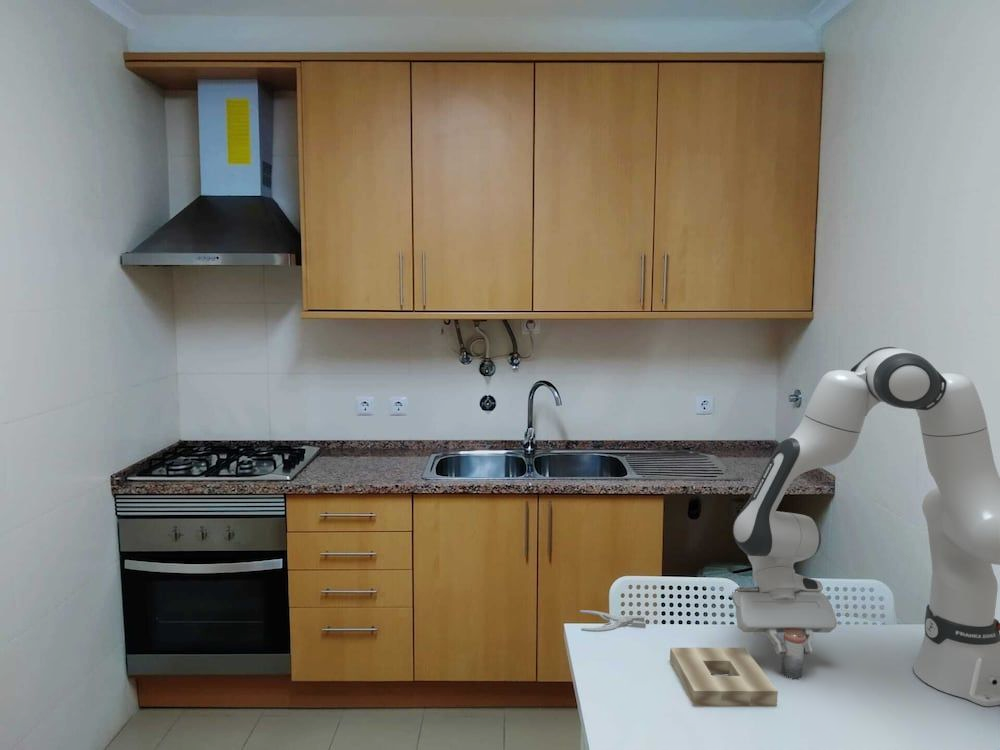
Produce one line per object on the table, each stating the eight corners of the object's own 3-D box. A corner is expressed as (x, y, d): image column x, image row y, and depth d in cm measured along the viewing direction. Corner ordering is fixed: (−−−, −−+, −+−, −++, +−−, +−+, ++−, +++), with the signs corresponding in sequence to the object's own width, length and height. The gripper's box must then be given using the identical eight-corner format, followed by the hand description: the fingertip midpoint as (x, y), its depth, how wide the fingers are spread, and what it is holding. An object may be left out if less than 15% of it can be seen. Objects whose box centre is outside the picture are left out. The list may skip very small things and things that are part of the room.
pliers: (580, 606, 168) (642, 610, 167) (579, 612, 169) (642, 616, 167) (581, 625, 159) (647, 630, 157) (581, 632, 159) (647, 636, 158)
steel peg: (796, 668, 145) (799, 628, 144) (805, 679, 141) (809, 637, 140) (777, 668, 145) (780, 628, 144) (786, 679, 141) (789, 637, 139)
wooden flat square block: (743, 661, 147) (744, 647, 147) (776, 705, 131) (777, 691, 131) (669, 660, 147) (670, 647, 146) (693, 705, 131) (694, 691, 130)
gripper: (734, 581, 147) (749, 648, 139) (828, 582, 148) (849, 648, 139) (725, 592, 152) (739, 657, 143) (816, 593, 153) (836, 658, 144)
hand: (794, 653), depth 141 cm, fingers closed on steel peg, 4 cm apart
